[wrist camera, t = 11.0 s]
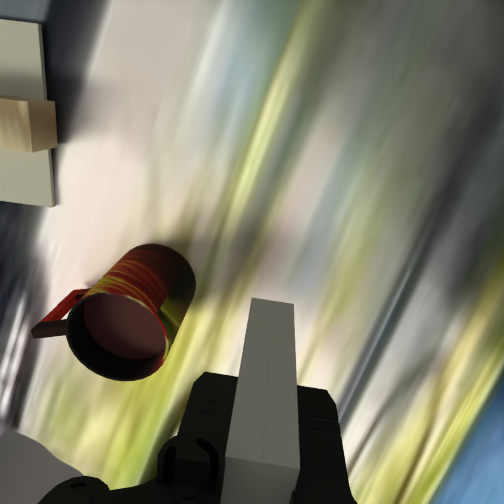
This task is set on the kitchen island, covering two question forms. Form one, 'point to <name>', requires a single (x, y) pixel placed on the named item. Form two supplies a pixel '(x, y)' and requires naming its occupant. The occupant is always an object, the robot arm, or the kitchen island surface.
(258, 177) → the kitchen island surface
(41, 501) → the robot arm
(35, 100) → the maple block
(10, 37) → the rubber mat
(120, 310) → the mug
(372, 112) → the kitchen island surface
